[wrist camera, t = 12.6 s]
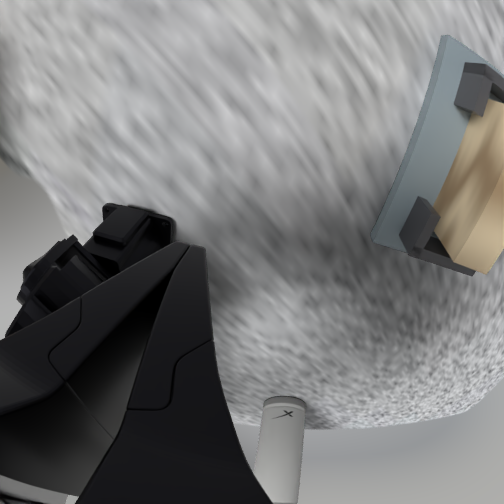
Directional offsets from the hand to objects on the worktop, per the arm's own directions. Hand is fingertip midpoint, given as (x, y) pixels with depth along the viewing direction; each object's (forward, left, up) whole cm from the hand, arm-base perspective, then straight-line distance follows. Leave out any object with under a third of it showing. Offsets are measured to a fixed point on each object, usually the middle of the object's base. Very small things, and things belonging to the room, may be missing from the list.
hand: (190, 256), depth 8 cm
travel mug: (-34, -12, -12) cm, 38 cm away
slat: (+4, -15, -11) cm, 19 cm away
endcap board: (+4, -15, -12) cm, 20 cm away
